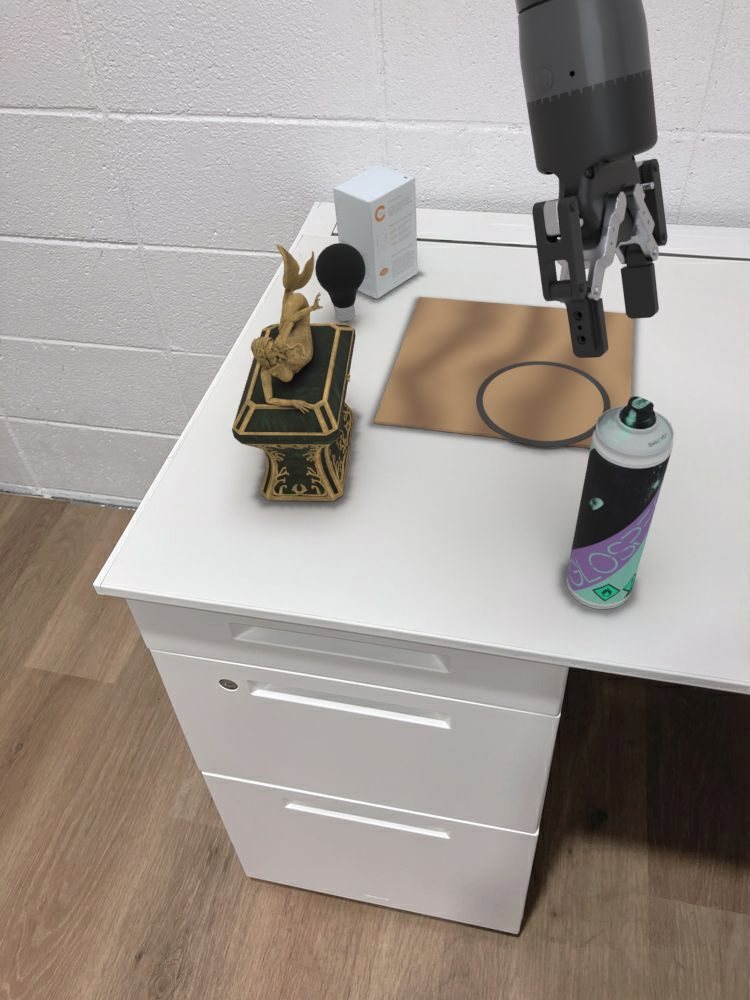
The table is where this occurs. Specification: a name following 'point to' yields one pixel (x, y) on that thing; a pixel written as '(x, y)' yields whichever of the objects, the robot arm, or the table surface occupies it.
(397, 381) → the drawing board
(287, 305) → the decorative box
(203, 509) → the table surface
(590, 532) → the spray can
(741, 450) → the table surface
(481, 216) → the table surface
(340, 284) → the light bulb
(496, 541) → the table surface
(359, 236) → the small box
